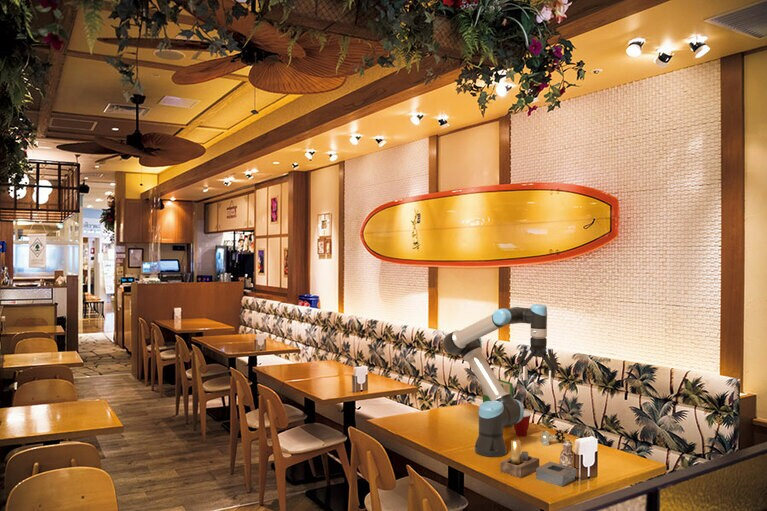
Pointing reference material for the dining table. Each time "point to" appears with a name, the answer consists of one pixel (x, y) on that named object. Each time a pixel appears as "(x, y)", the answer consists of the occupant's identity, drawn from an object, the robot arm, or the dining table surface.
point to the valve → (551, 437)
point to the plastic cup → (523, 424)
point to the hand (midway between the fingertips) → (537, 382)
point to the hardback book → (506, 387)
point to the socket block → (555, 473)
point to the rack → (525, 467)
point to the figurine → (567, 454)
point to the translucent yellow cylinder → (515, 451)
